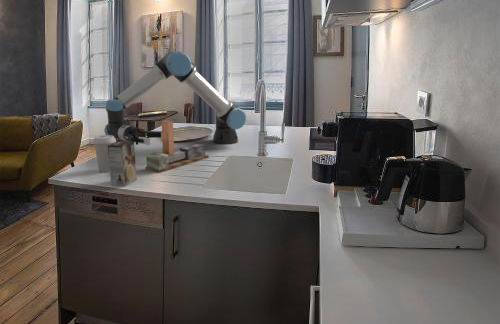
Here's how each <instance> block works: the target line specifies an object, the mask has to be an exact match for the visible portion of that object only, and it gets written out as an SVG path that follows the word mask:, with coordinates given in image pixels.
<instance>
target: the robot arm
mask: <svg viewBox="0 0 500 324" xmlns="http://www.w3.org/2000/svg"><path fill="white" fill-rule="evenodd" d="M153 65H154V66H153V68H151V69H150V70H149V71H147V72H146V73H145V74H144V75H143V76H141V77H140V78H139V79H137V80H136V81H135V82H133V83H132V84H131V85H129V86H128V87H127V88H125V90H123V91H122V92H120V93H119V94H118V95H117V96H115V97H114V98H113V99H107V101H106V104H105V111H106V113H107V114H106V115H107V124H106V125H105V126H104V127H105V128H104V129H103V131H104V134H105V135H112V136H114V138H115V139H116V140H119V141H132V142H134V143H135V145H137V146H139V144H143V145H147V146H149V145H151V139H152V138H153V139H154V138H155V139H157V138H160V139H162V130H160V131H159V130H145V131H143V130H140V128H139V127H137V126H132V125H126V124H125V117H124V110H125V109H127V108H129V107H130V106H131V105H132V104H133V103H134V102H136V101H137V100H138V99H140V98H141V97H142V96H143V95H145V94H146V93H148V92H149V91H150V90H151V89H153V88H154V87H156V86H157V85H158V84H159V83H160V82H162V81H163V80H167V79H169V78H170V77H172V76H173V77H174V78H176V79H177V80H178V82H180V84H181V83H183V84H186V85H187V86H188V87H189V88H190V89H191V90H192V91H193V92H194V93H196V95H198V96H199V97H200V98H201V99H202V100H203V102H205V103H206V104H207V105H209V107H210V108H212V109H213V110H214V111H215V131H214V133H213V137H212V142H213V143H215V144H219V145H233V144H236V143H237V144H238V142H239V137H238V133H237V130H239V129H241V128H243V127H244V125H245V124H246V122H247V114H246V112H245V111H244V110H243V109H242V108H239V107H238V106H237V105H236V103H234V102H233V101H232V100H227V99H226V98H225V97H224V96H223V95H222V94H221V93H220V92H219V91H218V90H217V89H216V88H214V86H213V85H212V84H211V83H209V82H208V81H207V79H206V78H205V77H203V76H202V75H201V74H200V73H199V72H198V71H197V66H196V64H194V63H193V62H192V61H191V58H190V56H189V55H188V54H186V53H184V52H183V51H171V52H168V53H166V54H165V55H163V57H162V58H161V59H159V60H158V61H157V62H156V63H155V64H153ZM150 138H151V139H150Z"/></svg>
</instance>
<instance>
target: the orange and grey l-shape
mask: <svg viewBox="0 0 500 324" xmlns="http://www.w3.org/2000/svg"><path fill="white" fill-rule="evenodd" d="M161 131H162V138H161V140H162V141H161V142H162V154H167V155H168V159H169V163H170V162H174V161H177V160H180V159H184V158H187V150H181V151H180V150H177V151H175V146H174V145H175V142H174V141H175V140H174V122H173V120H166V119H165V120H161Z"/></svg>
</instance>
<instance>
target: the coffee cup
mask: <svg viewBox="0 0 500 324" xmlns="http://www.w3.org/2000/svg"><path fill="white" fill-rule="evenodd" d="M116 142H117V139H115V138H114V136H112V135H106V134H105V135H104V134H101V135H96V136H94V137H93V140H92V143H93V146H94V149H95V155H96V161H97V165H98V170H99V172H100V173H110V166H109V155H108V145H111V144H113V143H116Z"/></svg>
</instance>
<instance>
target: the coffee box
mask: <svg viewBox="0 0 500 324" xmlns="http://www.w3.org/2000/svg"><path fill="white" fill-rule="evenodd" d="M108 155H109V166H110V172H109V175H110V185H111V186H115V187H116V186H117V187H127V186H128V185H130V184H132V183H133V182H135V181H136V180H137V179H138V178H137V164H136V153H135V142H132V141H125V140H119V141H116V142H115V143H113V144H111V145H108Z"/></svg>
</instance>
